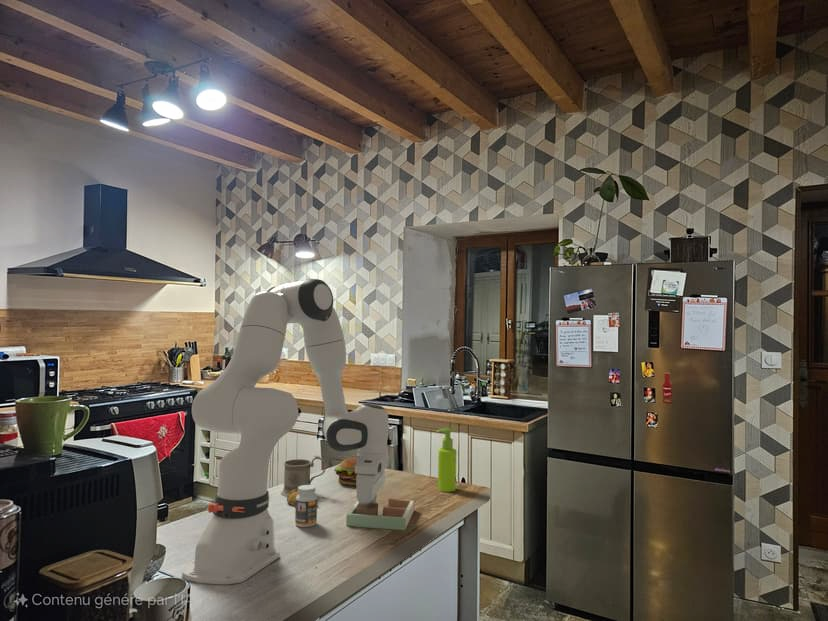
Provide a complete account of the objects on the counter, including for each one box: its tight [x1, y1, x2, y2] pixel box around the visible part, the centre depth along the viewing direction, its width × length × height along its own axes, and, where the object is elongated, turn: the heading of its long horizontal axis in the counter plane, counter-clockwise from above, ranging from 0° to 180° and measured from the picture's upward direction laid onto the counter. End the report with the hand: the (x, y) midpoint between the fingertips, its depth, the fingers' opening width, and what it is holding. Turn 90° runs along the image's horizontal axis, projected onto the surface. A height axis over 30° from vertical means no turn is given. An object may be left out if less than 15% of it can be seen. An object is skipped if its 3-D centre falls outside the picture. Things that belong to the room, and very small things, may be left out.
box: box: [345, 498, 415, 531], centre depth 161 cm, size 24×16×3 cm, turn 171°
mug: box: [280, 455, 327, 498], centre depth 179 cm, size 14×10×12 cm
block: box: [355, 502, 379, 516], centre depth 155 cm, size 6×6×4 cm
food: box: [334, 456, 357, 487], centre depth 194 cm, size 14×14×8 cm
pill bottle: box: [294, 484, 318, 528], centre depth 151 cm, size 6×6×10 cm
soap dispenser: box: [436, 428, 457, 493], centre depth 186 cm, size 6×7×20 cm
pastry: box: [286, 489, 299, 507], centre depth 168 cm, size 9×7×4 cm
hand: (371, 509), depth 159 cm, fingers closed
